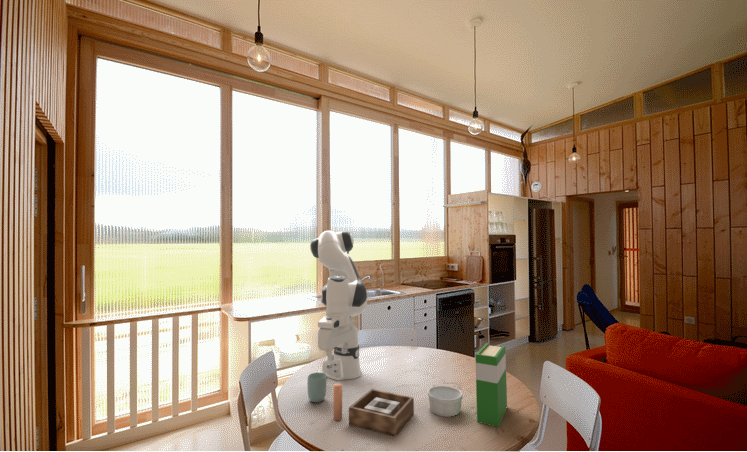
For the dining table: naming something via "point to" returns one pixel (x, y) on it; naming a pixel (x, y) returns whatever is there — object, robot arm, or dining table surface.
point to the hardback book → (491, 384)
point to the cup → (317, 386)
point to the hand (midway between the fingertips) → (337, 356)
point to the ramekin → (445, 400)
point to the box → (381, 412)
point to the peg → (337, 402)
